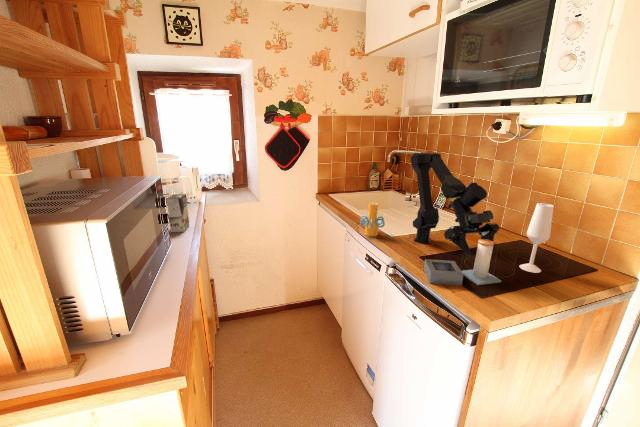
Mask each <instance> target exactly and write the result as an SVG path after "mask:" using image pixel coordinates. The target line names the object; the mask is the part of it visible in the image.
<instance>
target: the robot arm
mask: <svg viewBox="0 0 640 427" xmlns="http://www.w3.org/2000/svg"><path fill="white" fill-rule="evenodd" d="M410 163H411V167H412V169H413V171H414V172H415V173H416V178H417V186H418V197H419V203H420V204H419V205H420V206H419V208H418V211H417V212H416V213H417V214H416V215H417V216H416V218H415V219H414V220H412V226H413V227H414V228H416V234H415V237H414V239H413V241H414V242H417V243H423V244H426V245H427V244H430V242H431V241H432V238H431V232H432V230H431V229H436V228H437V225H438V224H439V219H440V216H439V208H438V207H434V205H433V196H432V188H431V180H430V170H431V168H432V171H433V172H434V174H435V175H436V177H437V179H438V181H440V184H441V185H440V190H441V192H442V195H443V197H444V198H445V199H450V201H449V203H448V206H447V208H448V209H453V213H454V215H455V217H456V218H455V220H454V221H455V223H458V224H459V225H451V226H450V227H449V228H447V229H446V230H445V231H444V233H443V236H444V239H445V240H449V242H452V244H454V245H456V246H457V247H458V248H459V249H460V250H462V251H463V252H464V254H466V255H467V256H469V257H470V256H471V255H472V253H471V249H470V247H469V245H468V242H467V238H466V237H467V235H471V234H473V235H474V234H479V236H480V239H488V240H491V241H493V242H494V240H495V239H494V237H495V234H497V233H498V231H500V230H501V229H500V226H499V224H498V223H497V222H491V220H494V214H493V212H492V211H491V210H483V211H482V212H481V213H477V211H473V209H472V208H474V207H476V206H477V205H478V204H479V203H481V202H482V201H483V200H484V199H486V198H487V196H488V193H487V190H486V189H485V188H484V187H482V186H481V185H478V183H477V182H470V183H469V185H468V186H466V185H465V183H463V182H462V181H461V179H460V178H457V177H455V176H454V175H453V173H452V172H451V170H450V169H449V168H448V166H447V165H446V163H445V162H444V160H443V158H442V155H441V154H440V153H439V152H414V153H413V154H412V155H411V156H410ZM451 199H454V200H451ZM484 223H485V224H484ZM494 243H495V242H494ZM493 253H495V245H493V249H492V254H493Z"/></svg>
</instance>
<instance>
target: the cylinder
mask: <svg viewBox="0 0 640 427" xmlns="http://www.w3.org/2000/svg"><path fill="white" fill-rule="evenodd" d="M378 208H379V203H378V202H369V203H368V213H367V214H368V215H366V214H363V215H362V216H360V221H359V222H360V226H361V227H363V228H364V227H365V228H364V229H365V230H364V235H365V236H366V237H372V238H373V237H377V236H378V235H379V228H380V229H381V228H384V227H385V225H386V224H385V219H384V217H383V216H382V215H379V216H378V210H379V209H378ZM364 220H366V221H364ZM379 221H381V222H379Z"/></svg>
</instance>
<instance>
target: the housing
mask: <svg viewBox="0 0 640 427" xmlns="http://www.w3.org/2000/svg"><path fill="white" fill-rule="evenodd" d="M423 270H424V274H425V275H426V278H427V281H428V283H429V284H435V285H445V286H446V285H447V286H459V287H462V285H463V279H464V275H463V273H462V272H461V271H462V270H461V269H460V267H459V265H457V262H456V261H455V260H443V259H430V258H429V259H428V258H427V259H426V258H425V259H424V265H423Z"/></svg>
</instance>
